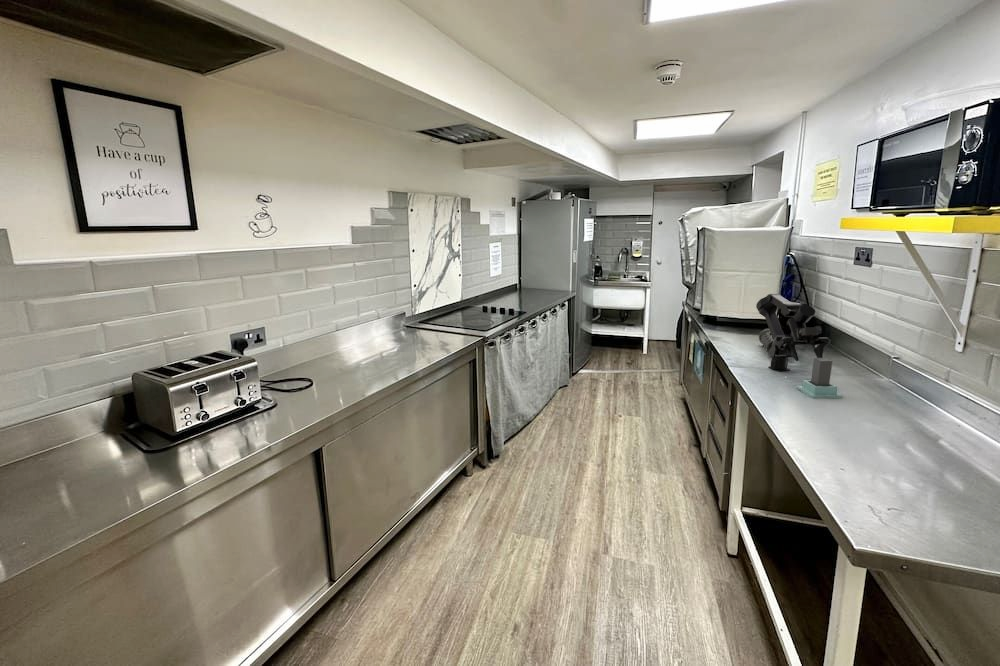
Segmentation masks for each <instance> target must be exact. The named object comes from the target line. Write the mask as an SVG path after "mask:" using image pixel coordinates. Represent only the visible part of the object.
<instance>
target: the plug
mask: <svg viewBox="0 0 1000 666" xmlns="http://www.w3.org/2000/svg"><path fill="white" fill-rule="evenodd" d="M812 362H813V363H812V370H811V378H810V380H811V384H813V385H815V386H829V383H831V382H830V381H831V373H832V368H833V366H832V365H833V360H831V359H828V357H822V358H817V357H813V361H812Z"/></svg>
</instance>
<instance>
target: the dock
mask: <svg viewBox="0 0 1000 666" xmlns="http://www.w3.org/2000/svg"><path fill="white" fill-rule="evenodd" d="M796 389H797V390H799V391H801V392H802V393H804V394H805V395H807V396H808V397H810V398H812V399H825V398H826V399H831V398H832V399H833V398H834V399H835V398H836V399H840V398H843V395H842V394H841V393H839V392H838V389H839V387H838V386H837V385H835V384H833V383H831V382H830V383H829V386H815V385H813V384H811V379H803V380H802V385H797V386H796Z"/></svg>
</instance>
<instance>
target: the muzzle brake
mask: <svg viewBox="0 0 1000 666" xmlns="http://www.w3.org/2000/svg"><path fill="white" fill-rule="evenodd" d="M758 340H759V342H760V344H761V345H762V346H763V347H764V349H765V351H766V352H767V353H768V351H769V349H770V348H771V347H772V343H773V341H774V340H773V337H772V335H771V332H770V329H769V328H764V329H763V330H761V331H760V332H759V333H758Z"/></svg>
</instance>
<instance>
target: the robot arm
mask: <svg viewBox="0 0 1000 666" xmlns="http://www.w3.org/2000/svg"><path fill="white" fill-rule="evenodd" d="M755 308H756V309H757V311H758V313H759V315H761V316H762V317H764V318H765V320H766V323H767V326H768V329H770V332H771V335H772V337H773V340H774V341H773V343H772V347H771V348H770V349H769V351H768V352H767V353H768V356H769V357H771V359H770V365H769V366H768V367H767V368H768V369H771V370H774V371H777V372H785V371H790V370H791V368H788V362H789V358H792V359H793V360H795V361H796V362H798V361H799V355H798V352H797V350H796V346H812V348H814V349H813V351H814V354H815V356H816V358H823V354H824V350H825V349H826V348H827V347H828V346H829V345H830V344H831V340H830V338H829V337H819V336H818V335H819V334H822V333H823V331H822V327H821V325H815V326H813V327H811V326H810V327H807V326H806V323H808V322H809V321H810V320H811V319H812V317H814V316H815V313H816V309H815V308H813V307H812V306H811V305H808V303H806V302H805V303H798V302H795V301H794V302H792V301H789V300H788V299H786V298H785V297H783V296H782V295H781V294H780V293H769V294H767V295H766V296H764V297H763V298H760V299H759V300H758V302H757V303H756V307H755ZM778 309H780V313H781V315H783V316H784V317H788V320H787V321H786V326H789V328H790V331H791V332H790V336H786V335H785V333H784V330H783V329H782V326H781V323H780V320H779V318H778V315H777V314H776V312H777V311H778ZM814 336H818V337H817V338H816V339H815V340H812V339H814Z"/></svg>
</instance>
